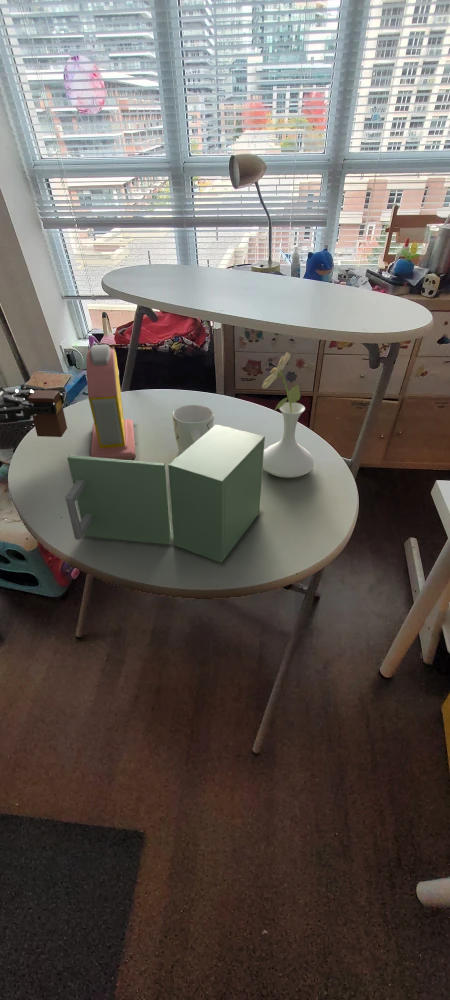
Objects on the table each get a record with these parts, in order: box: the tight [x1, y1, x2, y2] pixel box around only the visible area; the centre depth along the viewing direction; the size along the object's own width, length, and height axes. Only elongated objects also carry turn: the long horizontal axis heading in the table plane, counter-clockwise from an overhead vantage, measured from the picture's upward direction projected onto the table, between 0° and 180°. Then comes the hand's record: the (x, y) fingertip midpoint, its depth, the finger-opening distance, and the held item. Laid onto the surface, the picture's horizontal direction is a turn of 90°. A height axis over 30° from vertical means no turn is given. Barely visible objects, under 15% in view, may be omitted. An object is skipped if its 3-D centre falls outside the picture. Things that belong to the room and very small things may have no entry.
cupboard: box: [167, 424, 266, 564], centre depth 75 cm, size 9×15×16 cm, turn 152°
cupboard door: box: [64, 454, 172, 546], centre depth 70 cm, size 6×15×16 cm, turn 82°
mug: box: [172, 404, 215, 455], centre depth 95 cm, size 11×8×10 cm
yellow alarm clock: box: [86, 344, 137, 460], centre depth 97 cm, size 22×9×22 cm, turn 11°
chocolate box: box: [28, 389, 68, 438], centre depth 93 cm, size 5×4×8 cm
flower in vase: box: [261, 351, 315, 479], centre depth 88 cm, size 13×11×25 cm
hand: (59, 403), depth 92 cm, fingers closed on chocolate box, 4 cm apart
